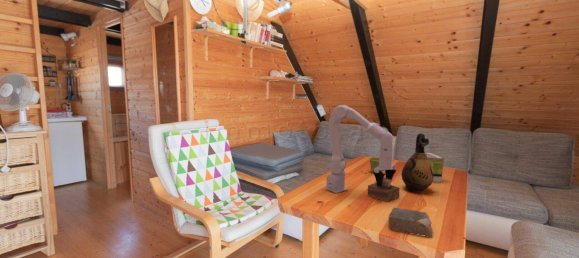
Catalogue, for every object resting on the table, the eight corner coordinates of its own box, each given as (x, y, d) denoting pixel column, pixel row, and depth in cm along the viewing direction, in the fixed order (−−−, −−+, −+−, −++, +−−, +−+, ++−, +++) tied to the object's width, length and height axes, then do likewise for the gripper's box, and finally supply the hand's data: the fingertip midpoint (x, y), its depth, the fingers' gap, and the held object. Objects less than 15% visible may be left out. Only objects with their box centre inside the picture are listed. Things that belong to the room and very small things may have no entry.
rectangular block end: (387, 194, 132) (388, 180, 131) (376, 191, 137) (377, 177, 136) (390, 193, 134) (391, 179, 133) (379, 190, 138) (380, 176, 137)
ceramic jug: (436, 196, 137) (441, 136, 133) (403, 193, 140) (408, 135, 136) (426, 185, 154) (431, 132, 150) (397, 183, 157) (401, 131, 153)
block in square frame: (387, 202, 128) (387, 191, 127) (367, 195, 137) (368, 185, 136) (398, 197, 134) (399, 187, 134) (379, 191, 143) (380, 181, 142)
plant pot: (380, 175, 172) (381, 161, 170) (366, 172, 177) (366, 159, 176) (385, 172, 179) (386, 159, 178) (371, 169, 185) (372, 156, 184)
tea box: (442, 182, 159) (444, 157, 157) (424, 182, 159) (426, 157, 158) (429, 175, 174) (431, 152, 172) (413, 174, 174) (415, 151, 173)
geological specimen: (390, 206, 111) (431, 211, 105) (389, 220, 112) (431, 226, 106) (387, 215, 102) (433, 222, 95) (387, 231, 102) (433, 239, 96)
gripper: (384, 161, 126) (382, 189, 127) (401, 157, 134) (399, 184, 136) (371, 158, 131) (369, 185, 133) (388, 154, 140) (386, 180, 142)
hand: (383, 184), depth 135 cm, fingers open, 7 cm apart
